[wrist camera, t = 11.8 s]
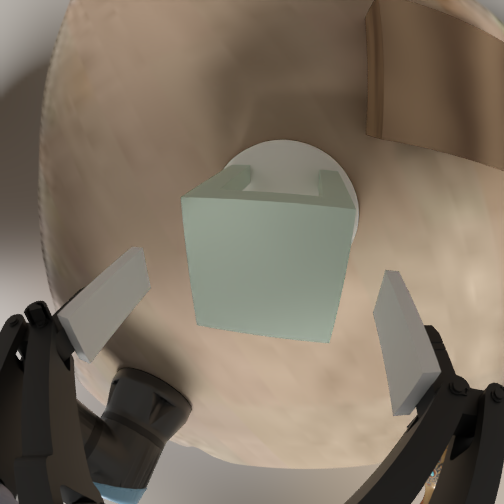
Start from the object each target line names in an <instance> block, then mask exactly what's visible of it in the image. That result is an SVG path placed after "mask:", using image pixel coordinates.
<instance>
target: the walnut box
mask: <svg viewBox="0 0 504 504" xmlns="http://www.w3.org/2000/svg"><path fill="white" fill-rule="evenodd" d="M365 24H366V39H367V67H368V94H367V124H366V135H369V136H373V137H376V138H379V139H383V140H389V141H395V142H400V143H405V144H410V145H415V146H419V147H424V148H428V149H432V150H436V151H440V152H444V153H448V154H452V155H455V156H459V157H462V158H466V159H469V160H472V161H475V162H479V163H482V164H485V165H488V166H491V167H493V168H496V169H499V170H502V171H504V42H503V41H501V40H499V39H497V38H496V37H494V36H492V35H490V34H488V33H487V32H485V31H483V30H481V29H479V28H477V27H475V26H473V25H471V24H468V23H466V22H464V21H462V20H460V19H457V18H455V17H453V16H450V15H448V14H445V13H443V12H440V11H437V10H435V9H432V8H429V7H426V6H423V5H420V4H417V3H414V2H410V1H407V0H374V2H373V4H372V6H371V7H370V9H369V11H368V13H367V15H366V17H365Z"/></svg>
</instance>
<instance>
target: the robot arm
mask: <svg viewBox="0 0 504 504" xmlns="http://www.w3.org/2000/svg"><path fill="white" fill-rule="evenodd" d="M150 288H151V286H150V281H149V277H148V272H147V267H146V262H145V257H144V251H143V248H142V247H131V248H130V249H129V250H127V251H126V252H125V253H124V254H123V255H122V256H120V257H119V258H118V259H117V260H116V261H115V262H113V263H112V264H111V265H110V266H109V267H108V268H106V269H105V270H104V271H103V272H102V273H101V274H100V275H99V276H97V277H96V278H95V279H94V280H93V281H92V282H91V283H90V284H89V285H87V286H86V287H84V288H82V289H80V290H79V291H78V292H77V293H76V294H75V295H74V296H73V297H71V298H70V299H69V301H67V302H66V303H65V304H64V305H63V306H62V307H61V308H60V309H59V310H58V311H57V312H56V313H55V314H54V315H53V316H51V313H50V311H49V309H48V307H47V304H46V303H45V302H44V301H36V302H34V303H32V304H30V305H29V306H28V307H27V308H26V309H25V311H24V313H25V315H26V317H27V319H28V321H29V323H26V321H25V319H24V317H23V316H22V315H21V314H16V315H13V316H11V317H10V318H9V319H8V320H7V321H6V322H5V324H4V326H3V328H2V330H1V332H0V504H63V502H65V503H66V504H104V501H103V498H105V499H107V500H110V501H113V502H116V503H119V504H137V503H138V502H139V500H140V498H141V497H142V495H143V493H144V492H145V491H146V489H147V485H148V483H149V480H150V478H151V476H152V474H153V471H154V469H155V467H156V464H157V462H158V460H159V457H160V455H161V453H162V451H163V448H164V446H165V444H166V442H167V441H168V440H169V439H170V438H171V437H172V436H173V435H174V434H175V433H176V432H177V431H178V430H179V429H180V428H181V427H182V426H183V425H184V424H185V423H186V421H187V419H188V417H189V415H190V412H191V408H190V405H189V403H188V402H187V401H186V399H185V398H184V397H183V396H182V395H181V394H180V393H179V392H177V391H176V390H175V389H174V388H172V387H171V386H169V385H168V384H166V383H165V382H163V381H161V380H160V379H158V378H156V377H154V376H152V375H150V374H148V373H145V372H142V371H139V370H136V369H131V368H122V369H120V370H119V371H118V372H117V374H116V375H115V377H114V378H113V380H112V383H111V388H110V392H109V397H108V402H107V407H106V409H105V411H104V413H103V414H102V416H101V418H99V417H98V416H97V415H95V414H94V413H93V412H92V411H90V410H89V409H88V408H87V407H86V406H84V405H83V404H82V403H81V402H80V401H79V400H77V399H76V389H75V375H74V359H73V356H72V355H71V354H72V353H73V352H74V351H75V352H76V354H77V355H78V357H79V359H81V360H83V361H85V362H88V363H90V364H91V362H92V361H93V360H94V358H95V357H96V356H97V354H98V353H99V352H100V350H101V349H102V348H103V347H104V345H105V344H106V343H107V341H108V340H109V339H110V338H111V336H112V335H113V334H114V333H115V331H116V330H117V329H118V327H119V326H120V325H121V324H122V322H123V321H124V320H125V319H126V317H127V316H128V315H129V314H130V313H131V311H132V310H133V309H134V308H135V306H136V305H137V304H138V303H139V302H140V300H141V299H142V298H143V297H144V296H145V294H146V293H147V292H148V291H149V290H150ZM373 315H374V319H375V323H376V327H377V331H378V336H379V340H380V345H381V349H382V354H383V359H384V364H385V369H386V374H387V380H388V385H389V391H390V398H391V404H392V411H393V416H398V415H410V414H411V412H412V411H413V410H414V409H415V407H416V409H417V414H418V415H417V416H416V417H415V418H414V419H413V420H412V422H411V423H410V424H409V425H408V426H407V428H408V429H407V430H406V432H405V433H404V434H403V436H402V437H401V439H400V440H399V441H398V443H397V444H396V445H395V447H394V448H393V449H392V451H391V452H390V453H389V455H388V456H387V457H386V458H385V460H384V461H383V462H382V463H381V465H380V466H379V467H378V468H377V469H376V471H375V472H374V473H373V474H372V475H371V476H370V477H369V479H368V480H367V481H366V482H365V483H364V484H363V485H362V486H361V487H360V489H358V491H356V492H355V494H354V495H353V496H352V497H351V498H350V499H349V500H348V501H346V502H345V504H411V503H412V502H413V500H414V499H415V497H416V496H417V494H418V493H419V492H420V490H421V489H422V487H423V486H424V484H425V483H426V481H427V480H428V478H429V477H430V475H431V474H432V472H433V470H434V469H435V467H436V465H437V464H438V462H439V460H440V458H441V457H442V455H443V453H444V451H445V449H446V447H447V445H448V448H447V451H446V455H445V458H444V462H443V465H442V468H441V471H440V474H439V477H438V480H437V483H436V486H435V488H434V491H433V494H432V496H431V499H430V501H429V503H428V504H494V503H495V500H496V496H497V492H498V488H499V484H500V479H501V474H502V468H503V463H504V387H503V386H502V385H500V384H498V383H491V384H489V385H488V387H487V388H486V389H485V390H484V391H483V390H477V389H472V388H470V386H469V384H468V383H467V381H466V380H465V379H464V378H462V377H460V376H458V375H456V374H455V371H454V369H453V366H452V363H451V361H450V358H449V356H448V353H447V351H446V350H445V349H446V348H445V346H444V343H443V341H442V339H441V337H440V334H439V333H438V331H437V330H436V329H435V328H434V327H433V326H432V325H423V322H422V320H421V318H420V315H419V313H418V311H417V309H416V306H415V304H414V302H413V300H412V298H411V295H410V293H409V291H408V289H407V287H406V285H405V283H404V281H403V279H402V277H401V275H400V273H399V271H391V270H385V274H384V277H383V281H382V285H381V288H380V292H379V295H378V298H377V302H376V305H375V308H374V311H373ZM17 350H18V352H19V353H20V355H21V356H22V357H21V359H20V360H19V359H18V357H17V356H16V352H17Z"/></svg>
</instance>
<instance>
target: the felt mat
mask: <svg viewBox="0 0 504 504" xmlns="http://www.w3.org/2000/svg"><path fill="white" fill-rule="evenodd" d="M232 164H233V165H250V183H249V184H248V185H247V186H246V188H245V189H244V190H243V191H258V192H274V193H288V194H300V195H312V196H319V191H318V184H319V169H321V170H331V171H338V172H339V174H340V176H341V178H342V180H343V182H344V184H345V186H346V188H347V190H348V192H349V195H350V197H351V199H352V201H353V203H354V205H355V208H356V216H355V223H354V229H353V235H352V241H351V244H352V242H353V240H354V237H355V235H356V231H357V227H358V220H359V207H358V201H357V196H356V193H355V190H354V187H353V185H352V183H351V181H350V179H349V177H348V176H347V174H346V173H345V171H344V170H343V169H342V167H341V166H340V165H339V164H338V163H337V162H336V161H335V160H334V159H333V158H332V157H331V156H329V155H328V154H327V153H325V152H324V151H322V150H320V149H318V148H317V147H314V146H312V145H309V144H307V143H303V142H299V141H294V140H272V141H266V142H263V143H259V144H256V145H254V146H252V147H250V148H248V149H245V150H244V151H242V152H241V153H239V154H238V155H236V156H235V157H234V158H233V159H232V160H231V161H230V162H229V163H228V164H227V165H226V166H225V167H224V169H226V168H227V167H229V166H231V165H232ZM224 169H223V170H224Z"/></svg>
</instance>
